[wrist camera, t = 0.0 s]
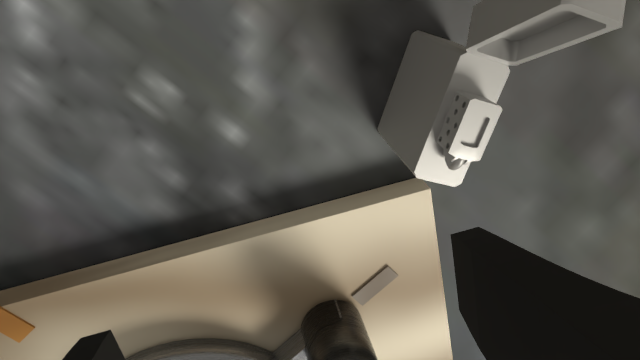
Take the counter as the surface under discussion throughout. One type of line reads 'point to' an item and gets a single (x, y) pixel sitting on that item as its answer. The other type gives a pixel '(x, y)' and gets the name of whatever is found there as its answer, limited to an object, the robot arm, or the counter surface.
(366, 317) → the board
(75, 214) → the counter surface
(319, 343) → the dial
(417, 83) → the lighter
